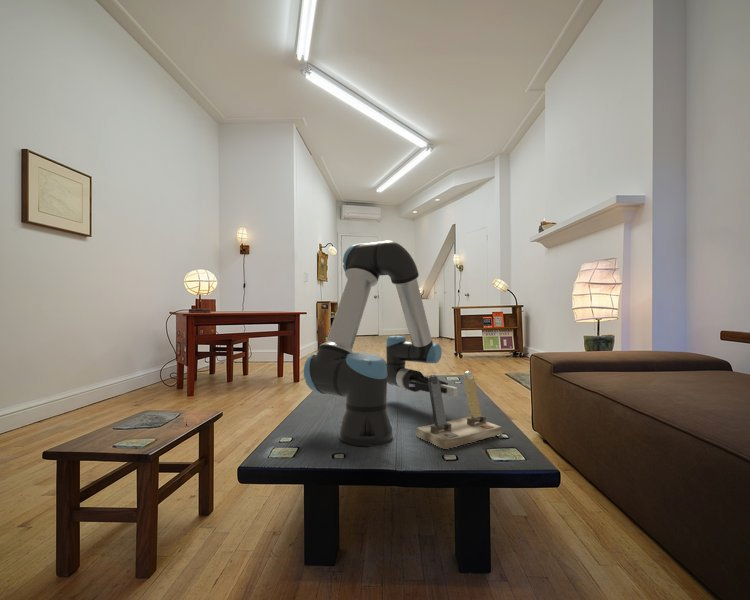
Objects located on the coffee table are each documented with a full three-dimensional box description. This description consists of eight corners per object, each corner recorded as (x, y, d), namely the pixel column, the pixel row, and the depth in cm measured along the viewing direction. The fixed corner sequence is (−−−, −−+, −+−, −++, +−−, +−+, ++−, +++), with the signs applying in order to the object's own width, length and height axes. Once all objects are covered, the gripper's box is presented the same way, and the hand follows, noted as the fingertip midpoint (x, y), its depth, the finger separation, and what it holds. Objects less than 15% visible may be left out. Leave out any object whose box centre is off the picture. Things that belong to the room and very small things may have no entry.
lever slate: (433, 430, 104) (425, 376, 107) (442, 428, 105) (433, 375, 109) (440, 430, 101) (431, 375, 105) (449, 428, 103) (439, 374, 107)
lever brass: (469, 422, 111) (460, 372, 115) (477, 421, 113) (468, 371, 116) (476, 422, 109) (467, 371, 112) (484, 420, 110) (474, 370, 114)
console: (416, 436, 106) (416, 421, 106) (471, 424, 118) (471, 410, 118) (445, 450, 96) (445, 433, 96) (501, 435, 108) (501, 420, 108)
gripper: (424, 388, 142) (470, 401, 122) (396, 391, 135) (440, 406, 115) (424, 368, 142) (470, 378, 122) (396, 371, 135) (440, 382, 115)
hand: (455, 392), depth 119 cm, fingers closed
